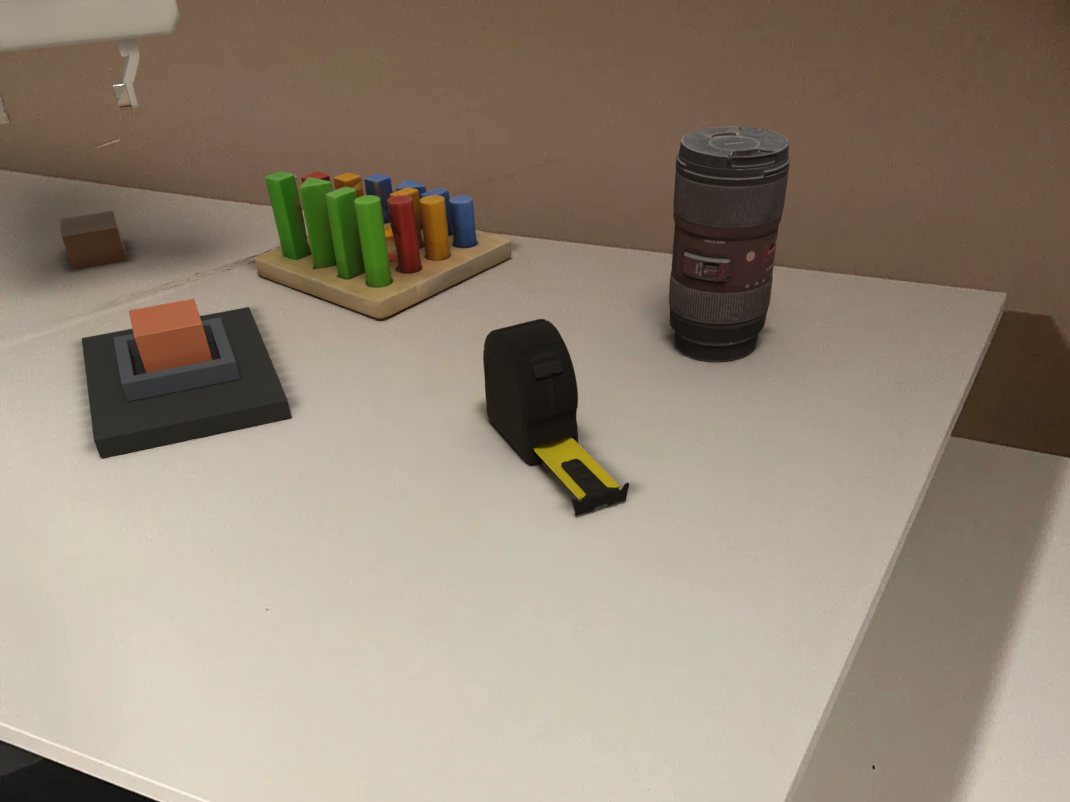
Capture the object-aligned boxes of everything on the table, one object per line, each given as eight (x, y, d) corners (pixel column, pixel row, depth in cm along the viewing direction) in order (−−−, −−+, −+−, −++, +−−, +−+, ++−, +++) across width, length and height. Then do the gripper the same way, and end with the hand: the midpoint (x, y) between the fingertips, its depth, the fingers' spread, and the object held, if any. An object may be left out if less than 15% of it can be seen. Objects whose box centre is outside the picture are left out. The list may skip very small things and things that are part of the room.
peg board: (515, 257, 96) (509, 159, 90) (381, 323, 87) (365, 218, 81) (389, 219, 104) (376, 126, 98) (255, 275, 96) (232, 177, 89)
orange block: (216, 373, 78) (202, 323, 76) (150, 387, 77) (133, 336, 74) (207, 347, 82) (193, 298, 79) (144, 359, 81) (128, 310, 78)
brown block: (130, 270, 98) (116, 227, 95) (77, 280, 96) (61, 236, 94) (126, 252, 101) (113, 210, 98) (74, 261, 100) (59, 219, 97)
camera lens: (785, 354, 80) (814, 146, 70) (692, 374, 78) (708, 164, 68) (737, 314, 86) (757, 115, 75) (649, 332, 84) (658, 131, 73)
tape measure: (485, 419, 75) (476, 313, 69) (538, 405, 76) (533, 299, 70) (573, 519, 65) (571, 405, 60) (631, 501, 67) (635, 387, 61)
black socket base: (291, 418, 76) (283, 380, 74) (101, 458, 73) (86, 421, 71) (253, 323, 88) (244, 289, 86) (87, 355, 85) (74, 320, 83)
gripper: (147, -134, 72) (198, 88, 82) (-168, -113, 67) (-73, 120, 77) (154, -125, 68) (207, 109, 77) (-181, -101, 63) (-79, 144, 73)
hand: (65, 115), depth 77 cm, fingers open, 8 cm apart
